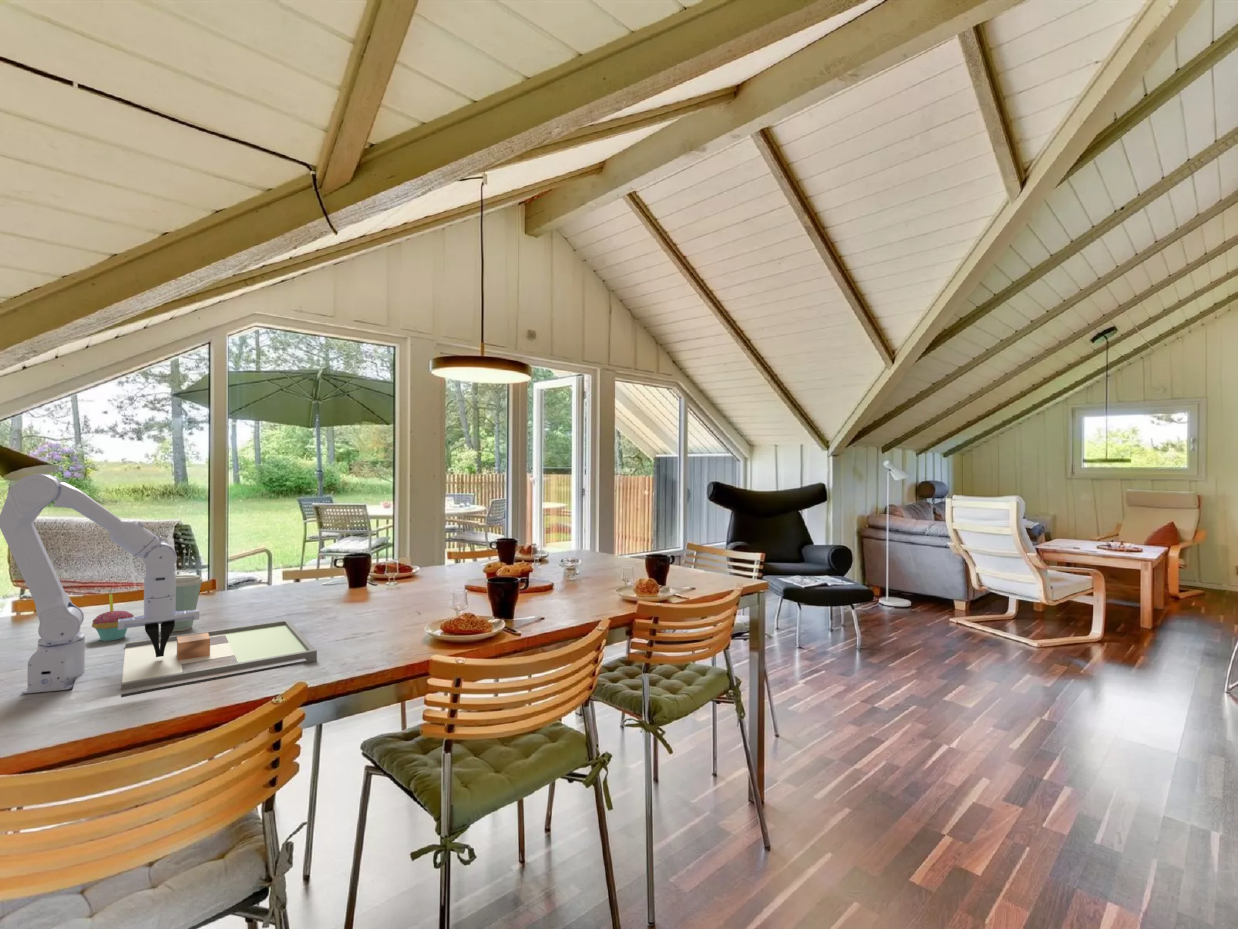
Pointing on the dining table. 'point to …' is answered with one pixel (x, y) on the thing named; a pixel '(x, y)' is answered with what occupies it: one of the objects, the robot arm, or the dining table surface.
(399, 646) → the dining table surface
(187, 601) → the disposable coffee cup
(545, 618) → the dining table surface
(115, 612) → the cupcake
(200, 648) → the block
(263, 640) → the sectioned serving tray
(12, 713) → the dining table surface
